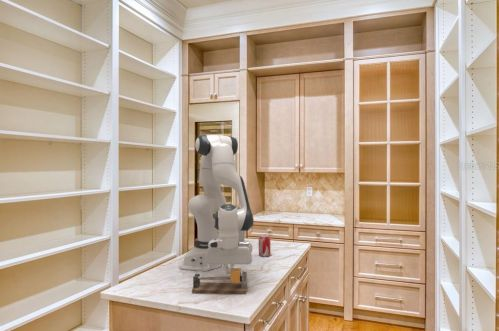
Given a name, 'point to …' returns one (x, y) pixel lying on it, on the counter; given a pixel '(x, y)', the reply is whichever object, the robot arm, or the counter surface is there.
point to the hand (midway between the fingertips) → (228, 273)
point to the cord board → (219, 285)
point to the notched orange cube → (235, 275)
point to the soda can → (264, 245)
